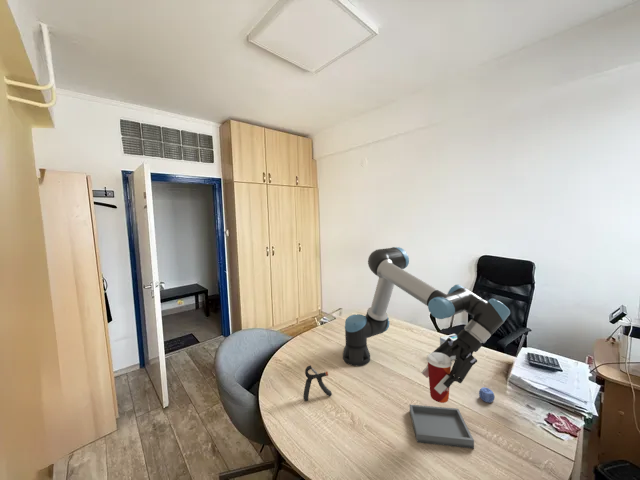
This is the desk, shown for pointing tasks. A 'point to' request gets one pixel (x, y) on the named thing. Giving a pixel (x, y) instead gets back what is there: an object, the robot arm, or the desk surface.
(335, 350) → the desk surface
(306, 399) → the hand grip strengthener
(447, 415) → the tray
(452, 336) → the light bulb box
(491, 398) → the decorative dice
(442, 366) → the coffee cup
